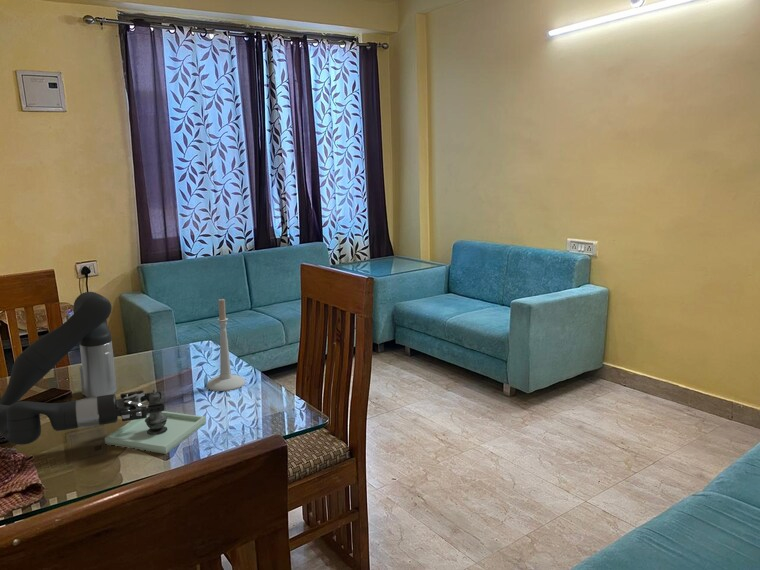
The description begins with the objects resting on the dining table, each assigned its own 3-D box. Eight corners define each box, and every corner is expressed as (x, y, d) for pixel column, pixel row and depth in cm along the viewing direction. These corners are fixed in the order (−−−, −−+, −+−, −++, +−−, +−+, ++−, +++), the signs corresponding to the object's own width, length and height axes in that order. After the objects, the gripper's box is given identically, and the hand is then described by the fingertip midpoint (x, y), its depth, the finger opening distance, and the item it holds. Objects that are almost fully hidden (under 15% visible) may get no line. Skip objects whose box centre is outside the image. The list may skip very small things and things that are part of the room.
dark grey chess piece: (160, 436, 154) (157, 394, 151) (141, 434, 155) (137, 393, 153) (172, 427, 160) (169, 386, 157) (153, 425, 161) (150, 385, 158)
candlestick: (252, 380, 197) (249, 295, 191) (231, 393, 185) (227, 304, 179) (221, 375, 201) (216, 292, 195) (198, 388, 189) (192, 300, 183)
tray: (105, 444, 151) (104, 437, 151) (150, 415, 169) (149, 409, 168) (166, 453, 146) (165, 446, 146) (206, 423, 164) (205, 416, 163)
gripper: (98, 413, 157) (161, 403, 163) (97, 435, 144) (165, 423, 151) (96, 388, 155) (159, 379, 162) (94, 407, 143) (163, 397, 149)
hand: (162, 400), depth 156 cm, fingers open, 8 cm apart
